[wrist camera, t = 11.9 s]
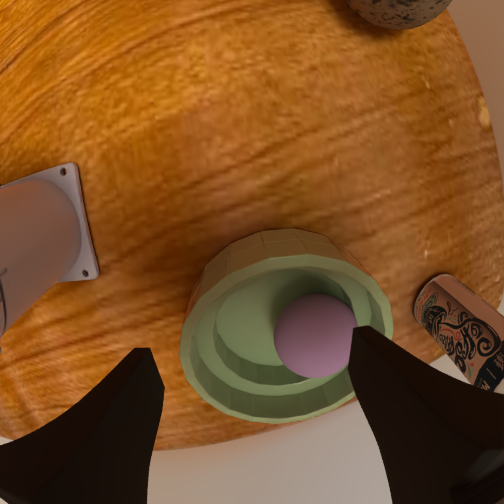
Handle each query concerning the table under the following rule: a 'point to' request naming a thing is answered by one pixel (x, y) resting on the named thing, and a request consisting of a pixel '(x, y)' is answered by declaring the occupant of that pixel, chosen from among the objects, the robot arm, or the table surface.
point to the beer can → (464, 330)
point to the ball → (315, 335)
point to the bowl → (270, 324)
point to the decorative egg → (398, 12)
